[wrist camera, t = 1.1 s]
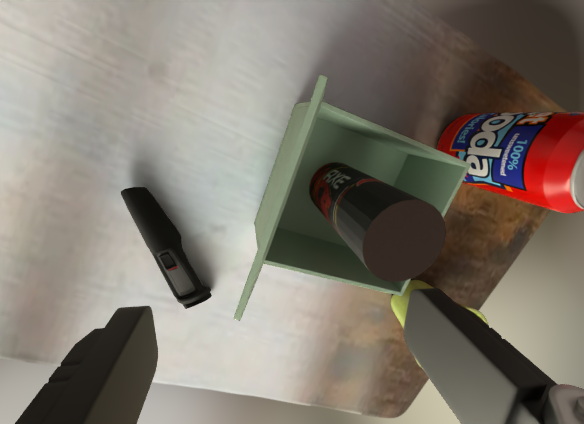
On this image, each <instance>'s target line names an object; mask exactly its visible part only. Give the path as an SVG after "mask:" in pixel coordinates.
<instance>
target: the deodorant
mask: <svg viewBox="0 0 584 424" xmlns="http://www.w3.org/2000/svg"><path fill="white" fill-rule="evenodd" d="M309 194H310V197H311V200H312V201H313V203H314V205H315V206H316V207H317V208H318V209H319V211H320V212H321V213H322V214H323V215H324V217H325V218H326V219H327V220H328V221H329V223H330V224H331V225H332V226H333V227H334V229H335V230H336V231H337V232H338V233H339V235H340V236H341V237H342V238H343V239H344V241H345V242H346V243H347V244H348V246H349V247H350V248H351V249H352V250H353V252H354V253H355V254H356V255H357V256H358V258H359V259H360V260H361V261H362V262H363V264H364V265H365V266H366V267H367V268H368V270H369V271H370V272H371V273H373V274H374V275H375V276H376V277H378V278H380V279H383V280H385V281H392V282H399V281H406V280H409V279H411V278H414V277H417V276H418V275H420V274H421V273H423V272H424V271H426V270H427V269H428V268H429V267H430V266H431V265H432V264H433V263H434V262H435V260H436V259H437V258H438V256H439V255H440V253H441V251H442V248H443V246H444V243H445V237H446V227H445V222H444V219H443V217H442V215H441V213H440V212H439V211H438V210H437V209H436V208H435V207H434V206H433V205H431V204H429V203H427V202H425V201H423V200H421V199H419V198H417V197H415V196H412V195H410V194H408V193H406V192H404V191H402V190H400V189H397V188H395V187H393V186H391V185H389V184H387V183H384V182H382V181H380V180H378V179H376V178H374V177H372V176H369V175H367V174H365V173H363V172H361V171H359V170H357V169H354V168H352V167H350V166H348V165H346V164H344V163H339V162H334V163H328V164H326V165H324V166H322V167H321V168H319V169H318V170H317V171H316V172H315V173H314V175H313V177H312V179H311V181H310V185H309Z"/></svg>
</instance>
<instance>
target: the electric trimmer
mask: <svg viewBox="0 0 584 424" xmlns="http://www.w3.org/2000/svg"><path fill="white" fill-rule="evenodd" d="M121 195H122V197H123V199H124V201H125V203H126V206H127V208H128V210H129V212H130V214H131V216H132V218H133V219H134V221H135V223H136V225H137V227H138V229H139V231H140V233H141V235H142V237H143V239H144V241H145V243H146V244H147V246H148V248H149V249H150V251H151V253H152V254H153V256H154V258H155V260H156V262H157V264H158V266H159V268H160V270H161V272H162V274H163V276H164V277H165V279H166V281H167V283H168V285H169V287H170V289H171V291H172V292H173V294H174V296H175V297H176V299H177V301H178V302H179V303H181V304H183V306H184V307H185V309H187V308H190V307H192V306H195V305H197V304H199V303H202V302H204V301H206V300H207V299H209V298H210V297H211V296H212V295H211V293H210V291H211V289H210V288H209V287H205V286H204V285H203V284H202V283H201V282H200V280H199V278H198V277H197V275H196V273H195V272H194V270H193V268H192V267H191V265H190V263H189V261H188V259H187V257H186V255H185V253H184V251H183V248H182V244H181V236H180V234H179V232H178V230H177V229H176V227H175V226H174V225H173V223H172V222H171V220H170V219H169V218H168V216H167V215H166V214H165V212H164V211H163V209H162V208H161V207H160V205H159V204H158V203H157V201H156V200H155V198H154V197H153V196H152V194H151V193H150V192H149V191H148V189H147V188H145V187H133V188H128V189H124V190H123V191H121Z"/></svg>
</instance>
